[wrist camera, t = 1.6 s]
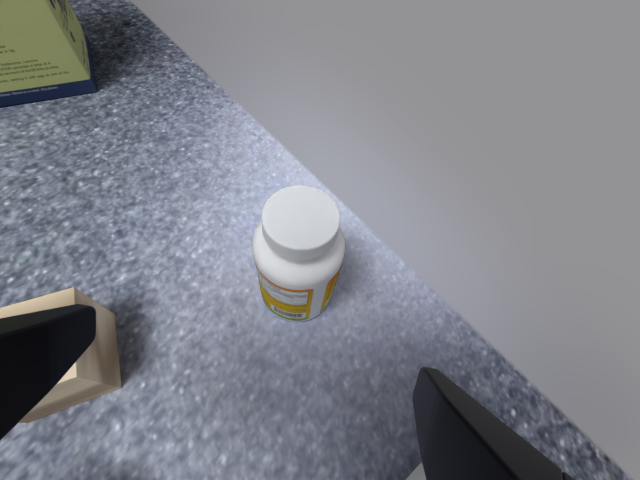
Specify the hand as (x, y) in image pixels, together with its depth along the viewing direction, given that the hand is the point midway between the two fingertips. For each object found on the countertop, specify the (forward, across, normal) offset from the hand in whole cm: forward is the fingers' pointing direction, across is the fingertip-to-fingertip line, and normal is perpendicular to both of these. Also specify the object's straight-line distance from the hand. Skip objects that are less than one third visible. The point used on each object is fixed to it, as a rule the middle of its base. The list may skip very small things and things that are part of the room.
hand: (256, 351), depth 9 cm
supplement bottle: (+15, 0, +4) cm, 16 cm away
